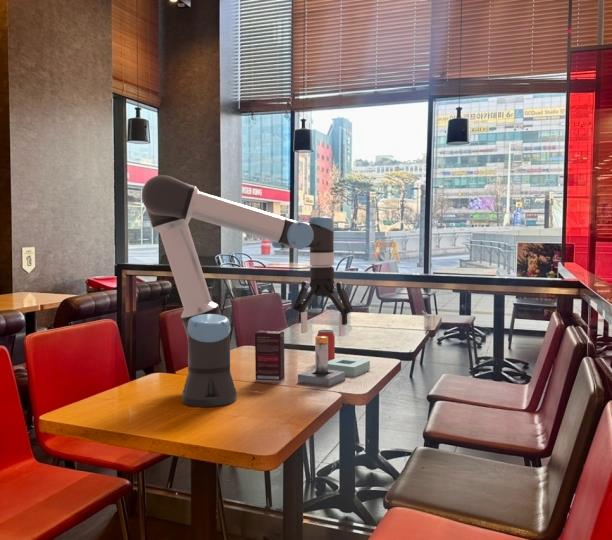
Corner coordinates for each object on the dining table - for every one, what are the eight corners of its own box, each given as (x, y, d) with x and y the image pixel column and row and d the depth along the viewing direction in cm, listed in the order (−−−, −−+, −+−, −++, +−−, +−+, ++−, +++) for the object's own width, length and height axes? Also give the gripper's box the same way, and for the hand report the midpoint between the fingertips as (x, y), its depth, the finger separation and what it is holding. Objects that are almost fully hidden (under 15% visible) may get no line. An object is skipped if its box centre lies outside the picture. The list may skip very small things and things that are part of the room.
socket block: (354, 377, 190) (354, 367, 190) (322, 373, 196) (322, 363, 196) (369, 370, 201) (369, 360, 200) (338, 367, 207) (338, 357, 207)
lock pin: (324, 383, 181) (324, 338, 181) (313, 381, 183) (313, 337, 183) (330, 380, 185) (330, 336, 184) (319, 379, 187) (319, 335, 186)
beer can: (337, 362, 214) (338, 330, 213) (328, 366, 208) (328, 332, 208) (322, 361, 217) (322, 329, 217) (313, 364, 212) (313, 331, 211)
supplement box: (285, 380, 187) (284, 331, 186) (280, 383, 182) (280, 333, 182) (259, 378, 189) (259, 330, 188) (254, 382, 184) (254, 332, 184)
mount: (328, 388, 176) (328, 378, 176) (297, 383, 182) (297, 374, 182) (345, 381, 186) (345, 371, 186) (315, 376, 192) (315, 367, 191)
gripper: (363, 266, 179) (364, 334, 180) (294, 265, 192) (295, 329, 193) (352, 267, 173) (353, 338, 174) (282, 266, 185) (283, 332, 187)
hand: (322, 333), depth 183 cm, fingers open, 13 cm apart
